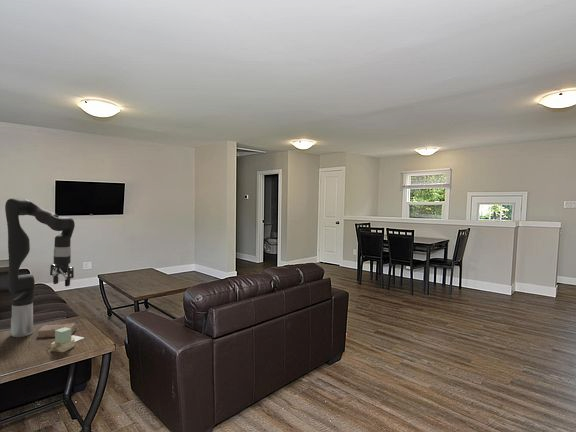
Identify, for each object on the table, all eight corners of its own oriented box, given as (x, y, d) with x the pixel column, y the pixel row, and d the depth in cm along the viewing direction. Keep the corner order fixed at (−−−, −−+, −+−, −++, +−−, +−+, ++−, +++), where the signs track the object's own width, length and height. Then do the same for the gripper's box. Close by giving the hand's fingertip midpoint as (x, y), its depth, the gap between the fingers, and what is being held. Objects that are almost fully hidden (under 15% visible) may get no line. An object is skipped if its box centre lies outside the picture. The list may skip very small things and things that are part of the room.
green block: (54, 342, 168) (55, 330, 168) (64, 338, 173) (64, 327, 173) (61, 344, 166) (61, 332, 166) (71, 340, 171) (71, 328, 171)
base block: (51, 351, 167) (51, 343, 167) (62, 345, 174) (62, 338, 174) (63, 352, 166) (63, 344, 166) (74, 346, 173) (74, 339, 173)
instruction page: (56, 341, 177) (56, 340, 177) (72, 335, 186) (72, 334, 186) (69, 344, 175) (69, 343, 175) (84, 338, 183) (84, 337, 183)
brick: (36, 338, 181) (36, 329, 181) (43, 332, 189) (43, 324, 189) (71, 336, 186) (71, 327, 186) (76, 330, 194) (76, 322, 194)
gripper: (45, 254, 176) (44, 284, 176) (65, 257, 171) (64, 288, 172) (59, 252, 183) (58, 281, 184) (78, 255, 178) (77, 285, 179)
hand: (61, 284), depth 178 cm, fingers open, 8 cm apart
